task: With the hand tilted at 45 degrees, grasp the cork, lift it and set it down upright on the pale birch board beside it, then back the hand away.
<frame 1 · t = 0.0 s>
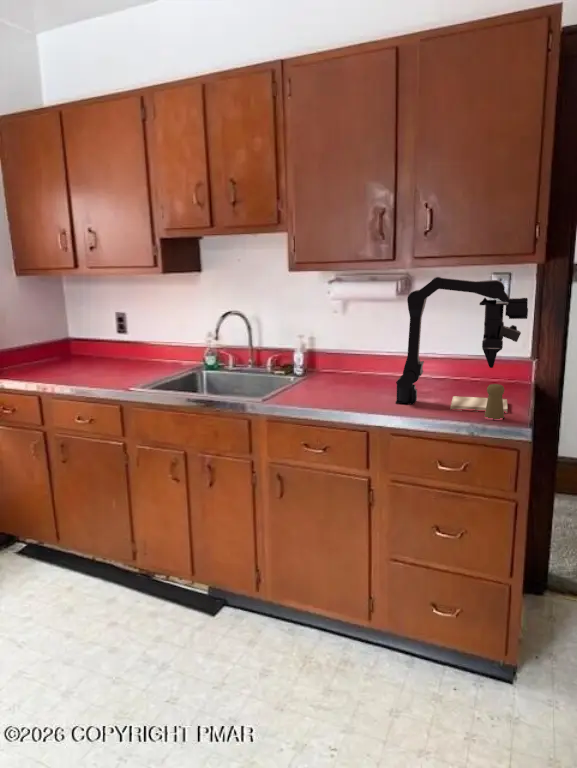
hand: (491, 365, 191), 15 cm above the counter, tool pointing down, fingers open, 9 cm apart
birch board: (479, 406, 195), on the counter
cork: (494, 418, 182), on the counter
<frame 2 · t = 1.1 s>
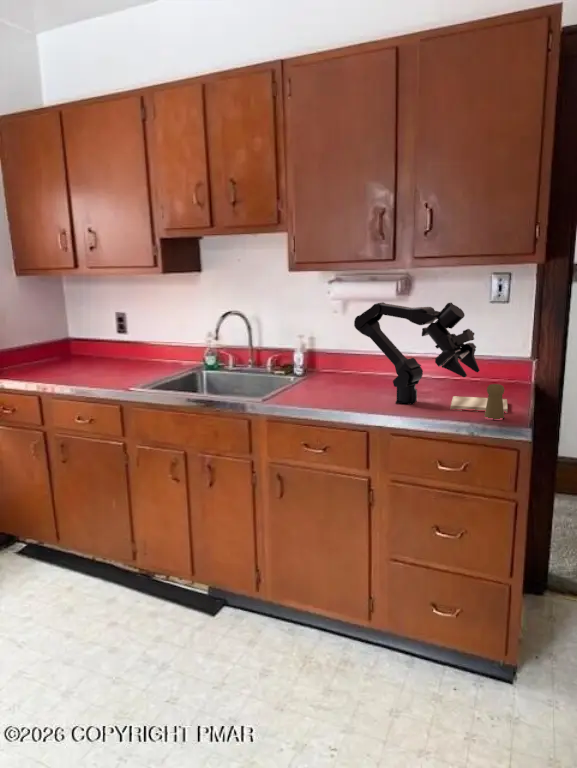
hand: (472, 374, 184), 13 cm above the counter, tool tilted 45°, fingers open, 9 cm apart
nothing on the counter moved.
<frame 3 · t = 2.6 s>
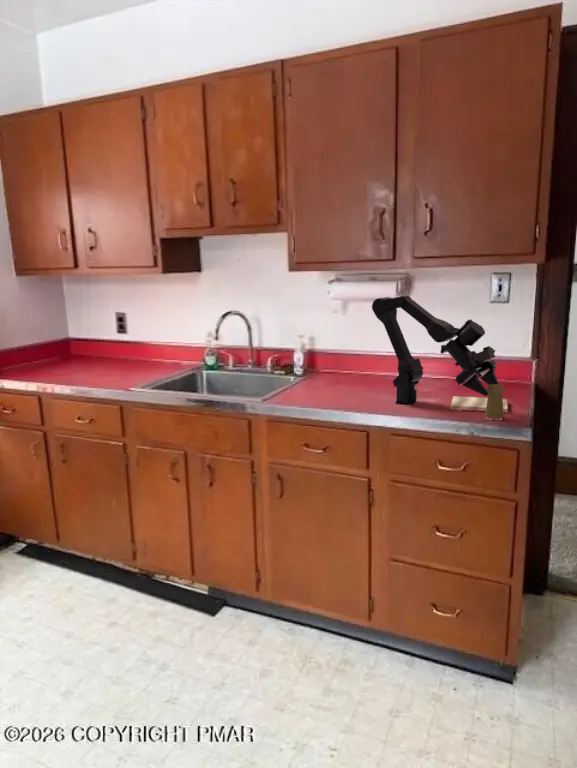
hand: (493, 392, 180), 8 cm above the counter, tool tilted 45°, fingers open, 9 cm apart
nothing on the counter moved.
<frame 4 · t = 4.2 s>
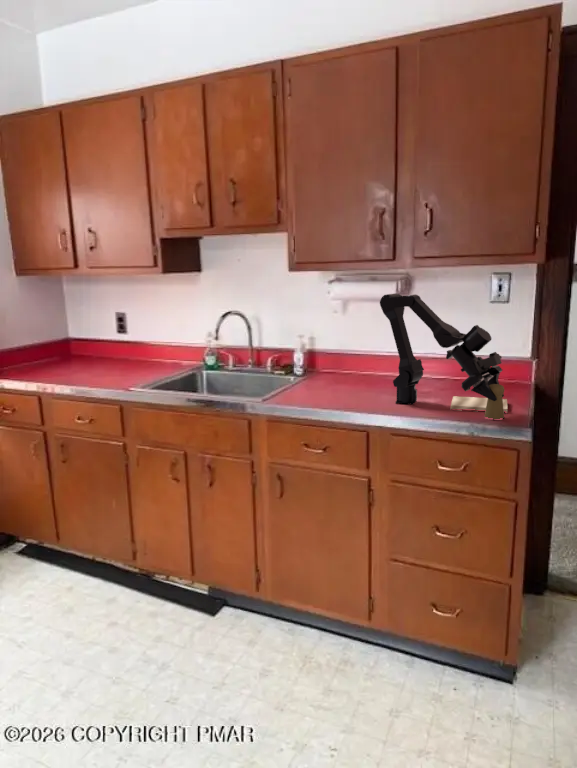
hand: (499, 398, 179), 7 cm above the counter, tool tilted 45°, fingers closed on cork, 5 cm apart
cork: (494, 418, 182), on the counter, touching gripper
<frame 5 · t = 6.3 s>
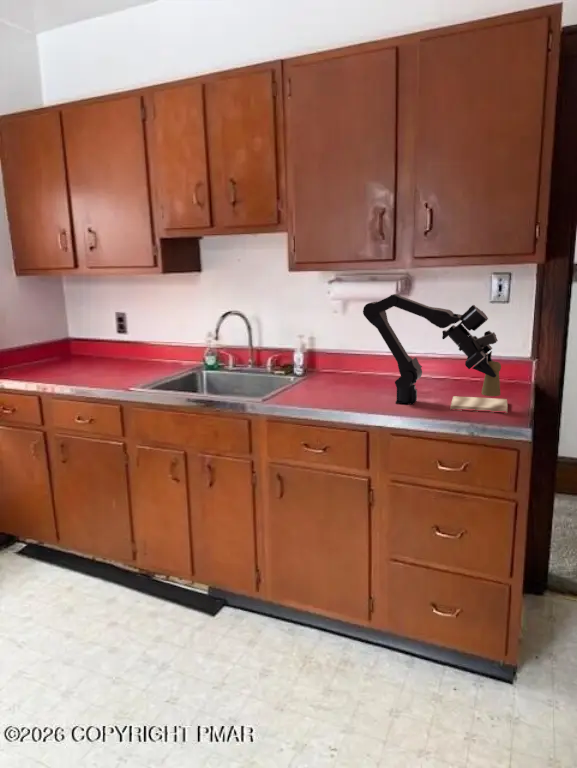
hand: (496, 375, 187), 12 cm above the counter, tool tilted 45°, fingers closed on cork, 5 cm apart
cork: (490, 394, 189), point 5 cm above the counter, touching gripper
when the fingers open (9 cm above the counter, at t = 8.2 s): cork stays where it is, resting on birch board.
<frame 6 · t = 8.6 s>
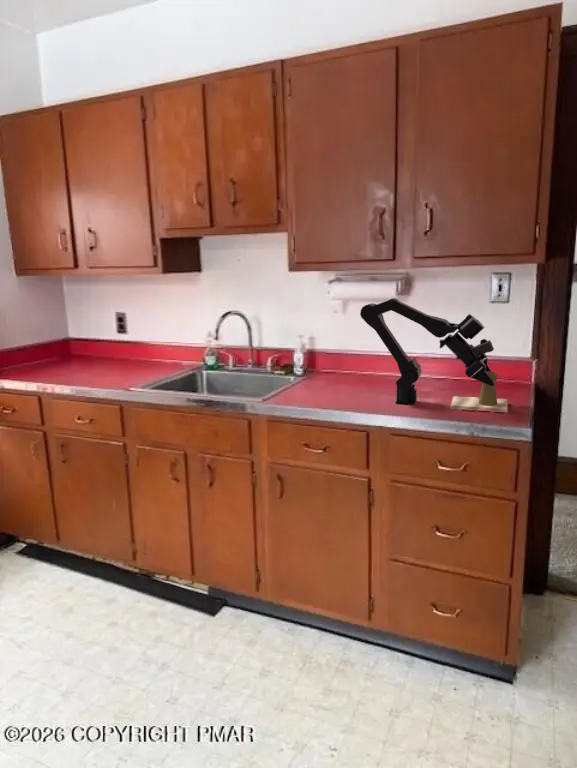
hand: (493, 382, 191), 9 cm above the counter, tool tilted 45°, fingers open, 9 cm apart
cork: (487, 404, 193), point 1 cm above the counter, touching birch board
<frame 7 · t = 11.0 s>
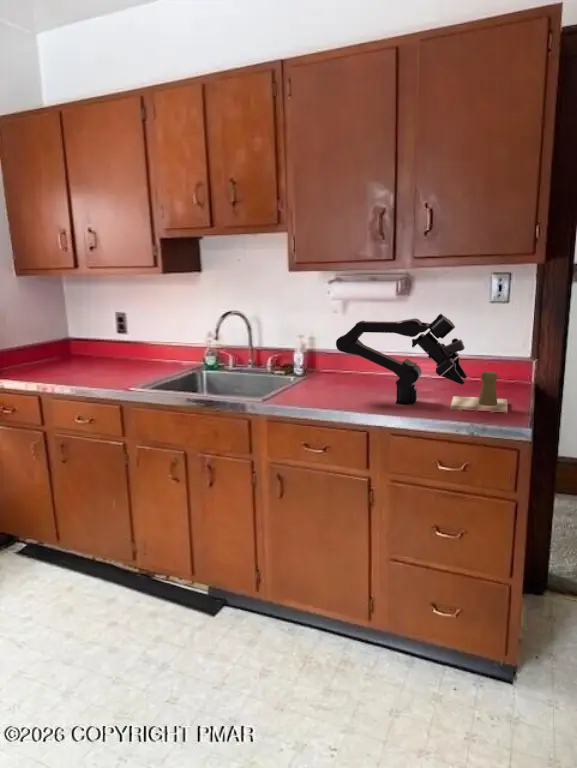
hand: (464, 380, 194), 9 cm above the counter, tool tilted 45°, fingers open, 9 cm apart
nothing on the counter moved.
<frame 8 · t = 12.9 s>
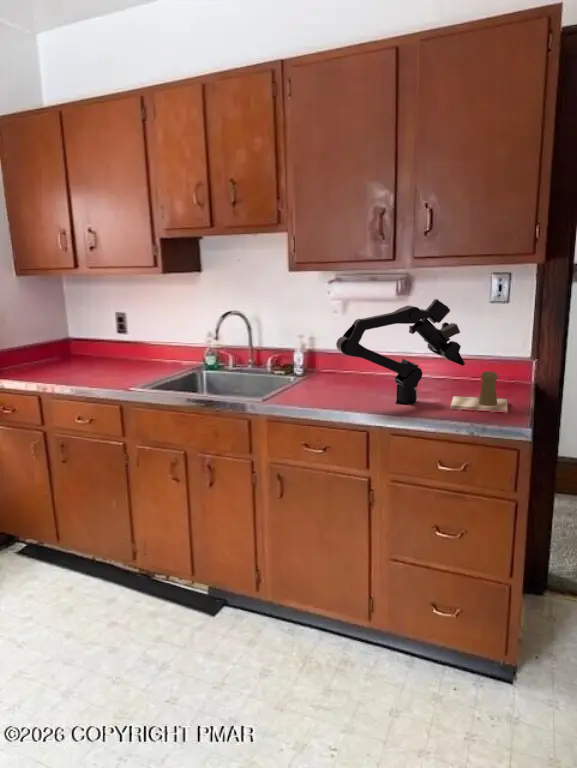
hand: (458, 362, 202), 14 cm above the counter, tool tilted 45°, fingers open, 9 cm apart
nothing on the counter moved.
at the end: cork inside the target area on the birch board (2.1 cm from its centre), point 1.3 cm above the birch board's base; cork tilted 0°; the gripper is holding nothing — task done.
